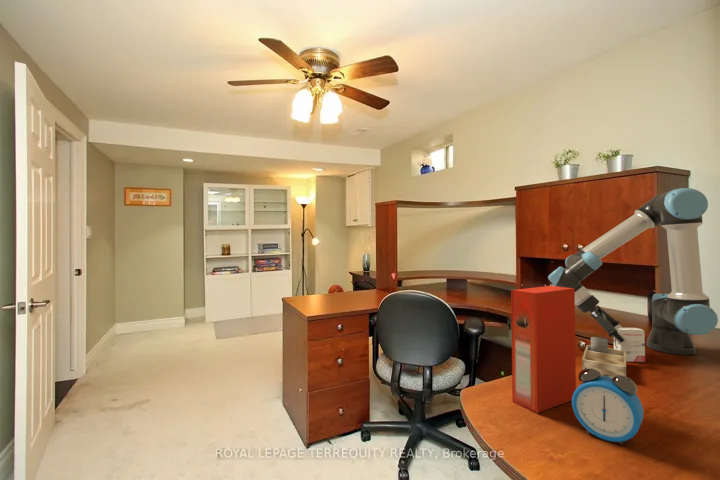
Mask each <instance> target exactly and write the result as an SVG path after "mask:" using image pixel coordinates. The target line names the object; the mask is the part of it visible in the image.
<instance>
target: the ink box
mask: <svg viewBox="0 0 720 480" xmlns="http://www.w3.org/2000/svg"><path fill="white" fill-rule="evenodd" d="M614 328H615V329H616V330H617V331H619V332H620V333H621V334H622V335H623V336H624V337H625V338H626V339H627V340H628V341H629V342H631V343H632V344H633V345H634V347H633V348H631V349H630V350H628V351H627V350H626V349H625V348H624V347H623V346H622V345H621V344H620V343H619V342H618V341H617V340H616V339H615V338H614V337H613V349H618V350H624V351H626V363H627V362H633V363H634V362H636V363H645V362H646V348H645V347H646V345H645V344H646V343H645V337H646V336H645V330H643V329H641V328H639V327H623V326H622V327H614Z"/></svg>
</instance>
